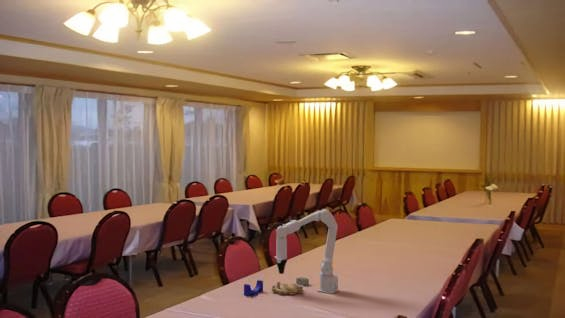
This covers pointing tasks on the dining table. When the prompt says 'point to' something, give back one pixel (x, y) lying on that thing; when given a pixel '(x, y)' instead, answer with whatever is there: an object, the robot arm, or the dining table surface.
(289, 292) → the sprocket wheel
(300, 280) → the link block
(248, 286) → the cable clip
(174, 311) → the dining table surface
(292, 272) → the dining table surface
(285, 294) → the wheel base
